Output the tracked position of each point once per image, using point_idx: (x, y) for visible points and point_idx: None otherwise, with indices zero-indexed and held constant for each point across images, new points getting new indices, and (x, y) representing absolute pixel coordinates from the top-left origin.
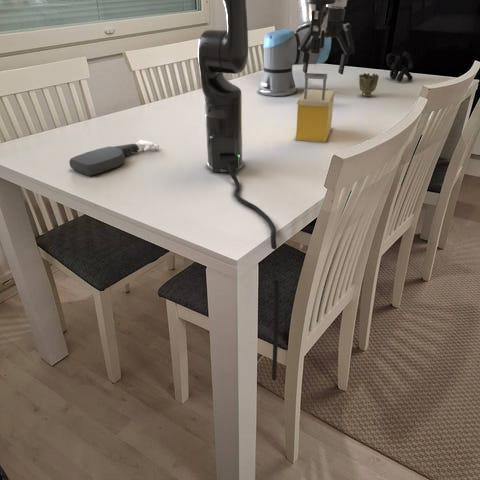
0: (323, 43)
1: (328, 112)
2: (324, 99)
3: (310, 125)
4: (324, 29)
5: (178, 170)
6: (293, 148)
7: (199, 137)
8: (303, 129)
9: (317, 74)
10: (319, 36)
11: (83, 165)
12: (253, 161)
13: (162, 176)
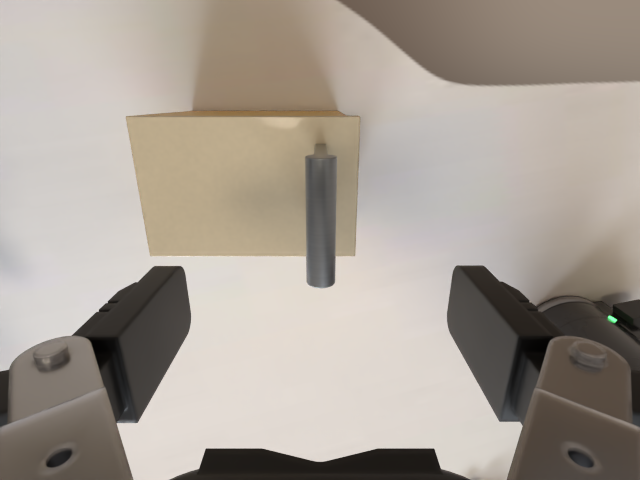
0: (166, 284)
1: (328, 114)
2: (317, 143)
3: None
4: (102, 383)
5: None
6: (412, 201)
7: (373, 434)
8: None
9: (330, 216)
10: (610, 361)
11: None
12: (523, 280)
13: None
